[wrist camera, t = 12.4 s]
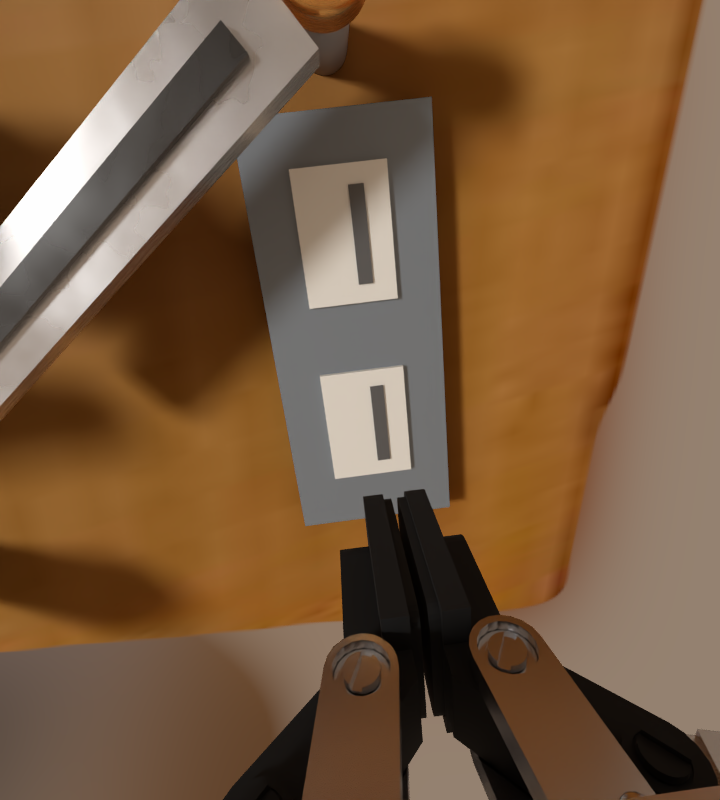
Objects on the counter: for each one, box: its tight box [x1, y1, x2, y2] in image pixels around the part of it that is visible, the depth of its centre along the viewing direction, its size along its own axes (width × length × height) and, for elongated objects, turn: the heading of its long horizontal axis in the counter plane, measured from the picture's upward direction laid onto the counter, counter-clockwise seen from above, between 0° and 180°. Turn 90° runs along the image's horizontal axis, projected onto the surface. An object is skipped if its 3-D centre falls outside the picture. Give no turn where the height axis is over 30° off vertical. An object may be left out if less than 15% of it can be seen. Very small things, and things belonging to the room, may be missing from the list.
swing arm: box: [0, 0, 365, 421], centre depth 17 cm, size 26×4×2 cm, turn 133°
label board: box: [237, 24, 450, 526], centre depth 23 cm, size 28×10×6 cm, turn 6°
